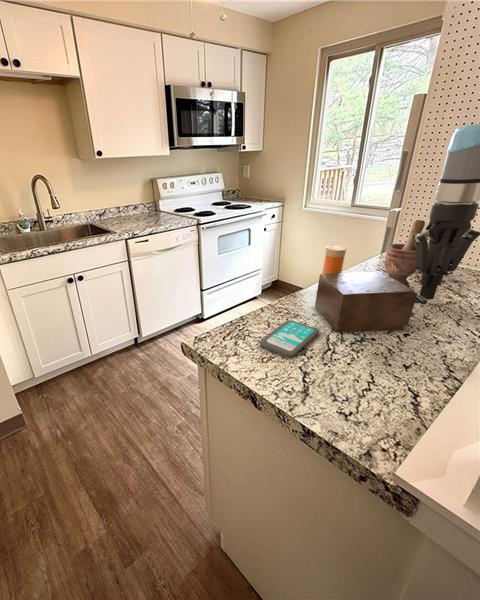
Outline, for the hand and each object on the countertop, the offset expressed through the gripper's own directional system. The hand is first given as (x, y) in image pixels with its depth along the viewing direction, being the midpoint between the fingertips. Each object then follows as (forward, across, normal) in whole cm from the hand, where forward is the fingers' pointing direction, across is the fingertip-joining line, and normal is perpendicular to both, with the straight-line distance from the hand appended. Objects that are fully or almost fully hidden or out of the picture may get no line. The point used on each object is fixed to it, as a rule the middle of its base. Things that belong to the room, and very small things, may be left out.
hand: (426, 297), depth 79 cm
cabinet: (+5, +16, 0) cm, 17 cm away
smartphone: (+5, +36, +9) cm, 37 cm away
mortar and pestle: (+6, -6, -20) cm, 21 cm away
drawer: (+5, +12, 0) cm, 13 cm away
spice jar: (+5, +16, -16) cm, 23 cm away
